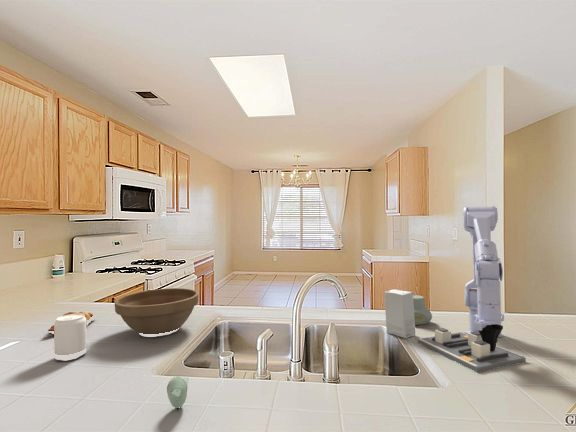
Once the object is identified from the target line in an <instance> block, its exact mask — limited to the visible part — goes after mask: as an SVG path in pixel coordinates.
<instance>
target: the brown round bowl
mask: <svg viewBox="0 0 576 432" xmlns="http://www.w3.org/2000/svg"><path fill="white" fill-rule="evenodd" d="M198 303H199V292H198V291H197V290H195V289H190V288H178V287H176V288H175V287H173V288H172V287H171V288H169V287H168V288H159V289H158V288H157V289H155V288H154V289H149V290H143V291H136V292H133V293H129V294H125V295H123V296H121V297H118V298H116V299H115V301H114V312H115V313H116V314H117V315H118V316H120V317H121V318H122V320H123V322H124V323H125V324H126V325H127V326H128V327H129V328H130V329H131V330H132V331H133V332H135V333H136V332H138V333H143V334H159V333H165V332H170V331H173V330H176V329H178V328H182V326H183V325H184V324H185V323H186V322H187V320H188V318H189V317H190V316H191V315H192V313H193V310H194V308H195V306H197V305H198ZM138 333H137V334H138Z"/></svg>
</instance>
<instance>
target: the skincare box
mask: <svg viewBox="0 0 576 432" xmlns="http://www.w3.org/2000/svg"><path fill="white" fill-rule="evenodd" d="M383 294H384V307H385V308H384V309H385V326H386V333H388V334H390V335H393V336H397V337H400V338H403V339H407V338H410V337H414V336H416V325H415V319H414V304H413V295H414V293H413V291H405V290H401V289H396V288H394V289H390V290H386V291H384V293H383Z"/></svg>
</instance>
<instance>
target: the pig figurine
mask: <svg viewBox="0 0 576 432" xmlns="http://www.w3.org/2000/svg"><path fill="white" fill-rule="evenodd" d="M188 389H189V377H183V376H180V375H179V376H173V377H172V378H171V379H170V380H169V381H168V383H167V387H166V393H167V398H168V400H169V402H170V403H169V404H171V406H172V407H173V408H174V407H175V408H179V407H181V408H182V407H183V405H184V404H185V402H186V399H187V395H188ZM175 408H174V409H175ZM179 409H180V408H179Z"/></svg>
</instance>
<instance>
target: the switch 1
mask: <svg viewBox="0 0 576 432" xmlns="http://www.w3.org/2000/svg"><path fill="white" fill-rule="evenodd" d="M451 334H452V331H450V330H449V329H447V328H444V327H443V328H442V327H441V328H437V329H434V336H435V341H436V342H438V343H441V344H443V343H444V342H449V341H451Z"/></svg>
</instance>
